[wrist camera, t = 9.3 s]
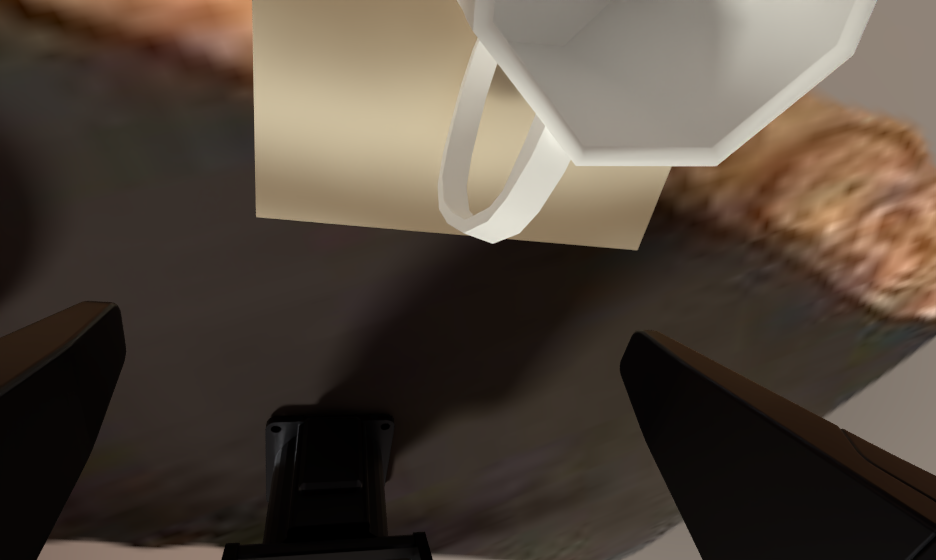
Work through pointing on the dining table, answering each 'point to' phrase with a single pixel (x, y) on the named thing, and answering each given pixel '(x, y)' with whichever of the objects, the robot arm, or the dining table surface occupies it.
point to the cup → (634, 86)
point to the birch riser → (405, 126)
